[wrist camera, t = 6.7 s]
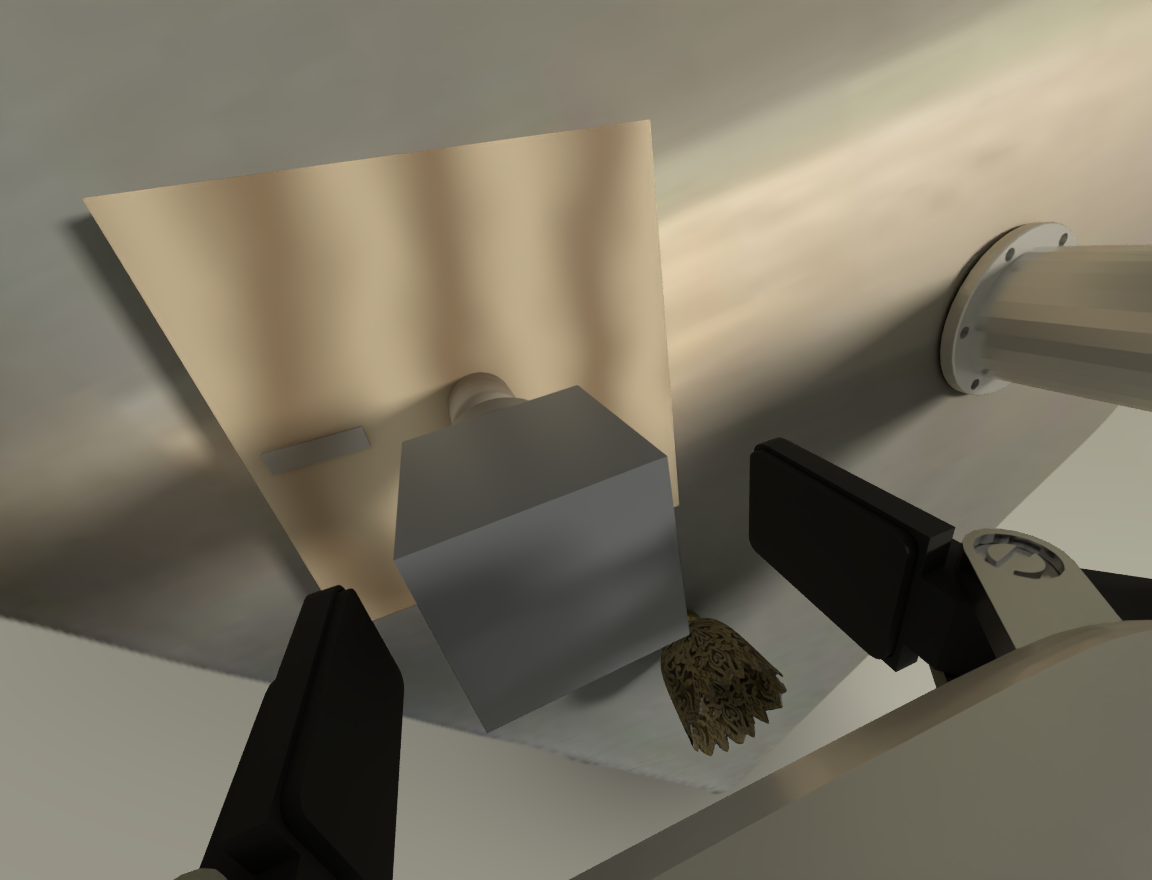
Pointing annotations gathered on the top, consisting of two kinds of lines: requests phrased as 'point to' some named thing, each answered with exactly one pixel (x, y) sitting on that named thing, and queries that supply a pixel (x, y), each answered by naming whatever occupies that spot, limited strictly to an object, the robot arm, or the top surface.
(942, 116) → the top surface
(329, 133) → the top surface
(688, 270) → the top surface
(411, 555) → the cap
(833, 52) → the top surface
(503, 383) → the block
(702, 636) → the cup
